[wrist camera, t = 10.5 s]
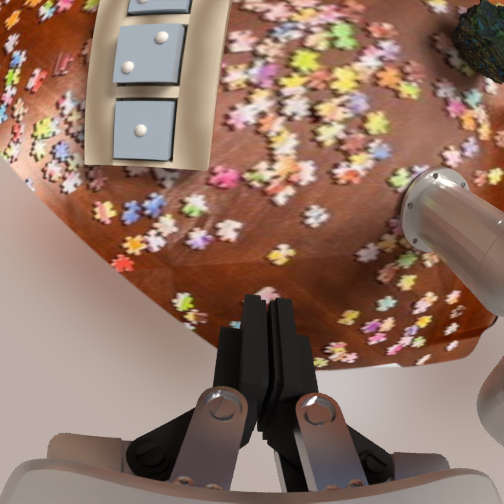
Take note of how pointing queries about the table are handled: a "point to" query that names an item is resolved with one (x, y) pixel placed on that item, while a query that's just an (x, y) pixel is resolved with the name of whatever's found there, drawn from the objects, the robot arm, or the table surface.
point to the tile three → (159, 7)
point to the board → (158, 83)
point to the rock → (482, 39)
